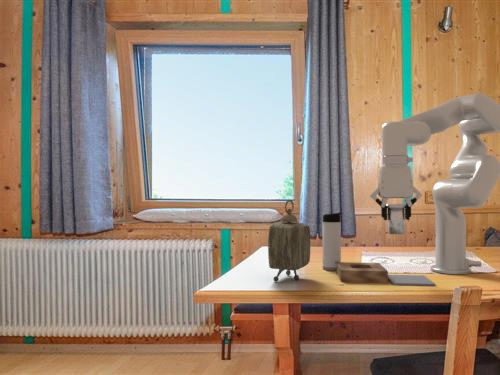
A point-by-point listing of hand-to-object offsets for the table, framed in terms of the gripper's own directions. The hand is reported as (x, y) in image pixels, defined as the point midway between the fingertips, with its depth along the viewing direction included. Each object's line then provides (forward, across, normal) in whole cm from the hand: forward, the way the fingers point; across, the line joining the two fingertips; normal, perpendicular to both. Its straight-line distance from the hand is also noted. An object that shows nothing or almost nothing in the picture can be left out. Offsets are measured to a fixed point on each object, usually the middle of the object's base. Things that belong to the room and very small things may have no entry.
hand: (396, 219), depth 137 cm
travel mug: (+19, +20, -14) cm, 31 cm away
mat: (+19, -3, +2) cm, 19 cm away
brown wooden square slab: (+19, +11, -2) cm, 22 cm away
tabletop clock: (+18, +33, +4) cm, 38 cm away
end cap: (+4, 0, 0) cm, 4 cm away
